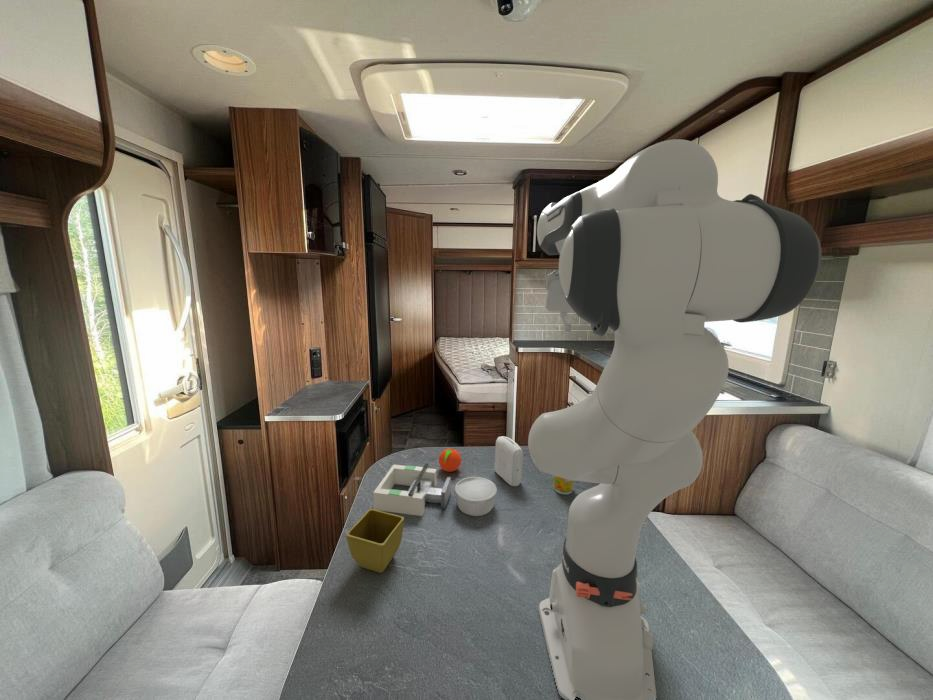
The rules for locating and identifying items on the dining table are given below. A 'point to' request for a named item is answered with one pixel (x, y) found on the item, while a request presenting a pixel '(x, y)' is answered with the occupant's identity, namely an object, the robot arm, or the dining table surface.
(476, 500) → the ramekin
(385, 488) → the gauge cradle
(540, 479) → the dining table surface
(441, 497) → the grey metal pieces
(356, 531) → the flower pot
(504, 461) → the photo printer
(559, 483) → the supplement bottle
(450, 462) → the red tomato
